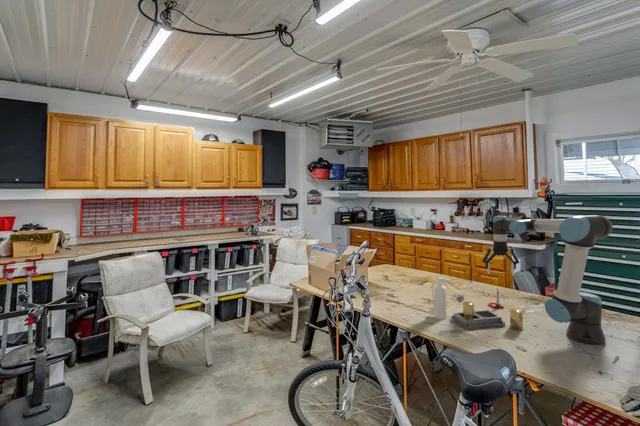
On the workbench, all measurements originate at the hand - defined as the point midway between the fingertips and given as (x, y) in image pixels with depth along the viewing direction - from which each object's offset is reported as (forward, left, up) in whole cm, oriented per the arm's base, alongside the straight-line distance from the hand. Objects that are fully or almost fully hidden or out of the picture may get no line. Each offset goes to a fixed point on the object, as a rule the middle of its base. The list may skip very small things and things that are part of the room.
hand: (500, 273), depth 194 cm
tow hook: (+9, -3, -25) cm, 26 cm away
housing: (-12, +25, -24) cm, 37 cm away
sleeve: (-23, +9, -24) cm, 35 cm away
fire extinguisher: (0, +42, -24) cm, 48 cm away
